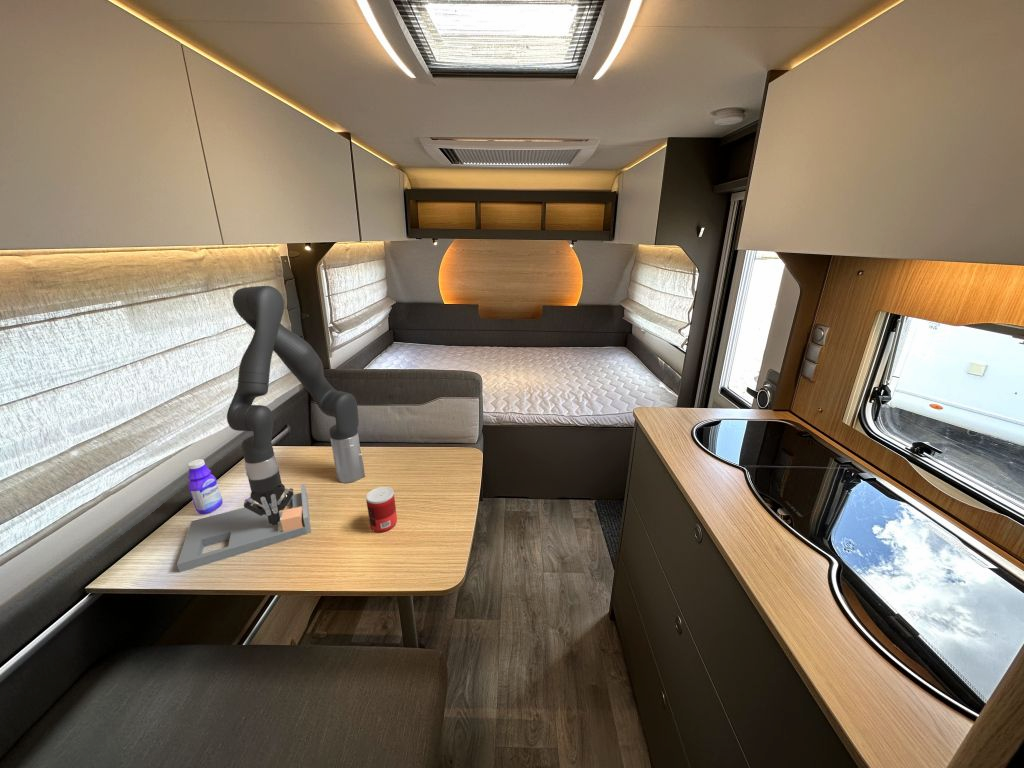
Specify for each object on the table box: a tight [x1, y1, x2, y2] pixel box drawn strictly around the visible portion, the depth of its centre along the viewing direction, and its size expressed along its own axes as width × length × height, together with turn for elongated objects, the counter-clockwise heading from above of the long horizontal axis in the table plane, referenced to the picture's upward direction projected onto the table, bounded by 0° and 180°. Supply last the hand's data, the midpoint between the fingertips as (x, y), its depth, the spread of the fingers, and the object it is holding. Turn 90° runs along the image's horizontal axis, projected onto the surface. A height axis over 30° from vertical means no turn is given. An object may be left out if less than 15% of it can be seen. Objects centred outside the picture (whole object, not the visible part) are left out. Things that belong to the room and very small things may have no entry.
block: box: [281, 506, 304, 532], centre depth 117 cm, size 5×5×4 cm
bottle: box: [187, 458, 224, 515], centre depth 127 cm, size 7×6×17 cm
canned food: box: [365, 486, 398, 534], centre depth 119 cm, size 8×8×11 cm
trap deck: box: [176, 483, 312, 573], centre depth 118 cm, size 31×20×6 cm, turn 119°
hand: (275, 523), depth 117 cm, fingers closed
